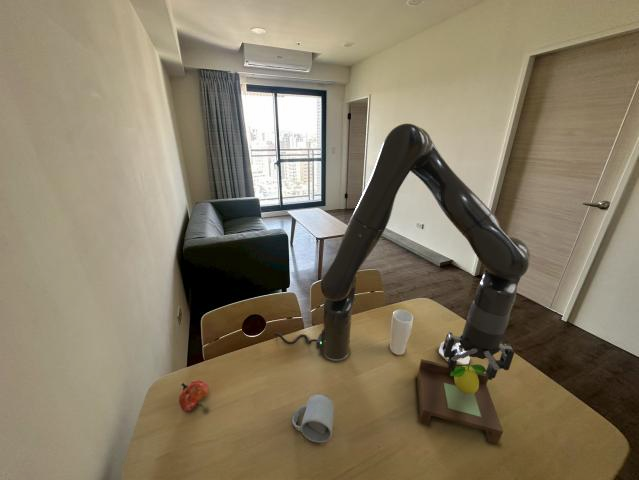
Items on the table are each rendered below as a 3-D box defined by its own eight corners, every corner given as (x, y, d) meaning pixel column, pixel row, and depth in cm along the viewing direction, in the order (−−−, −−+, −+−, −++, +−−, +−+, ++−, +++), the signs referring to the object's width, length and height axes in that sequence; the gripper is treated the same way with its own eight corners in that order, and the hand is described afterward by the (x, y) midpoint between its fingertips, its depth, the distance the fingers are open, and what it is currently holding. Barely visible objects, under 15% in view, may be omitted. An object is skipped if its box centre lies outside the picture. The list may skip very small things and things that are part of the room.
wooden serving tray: (420, 422, 67) (425, 402, 64) (416, 377, 79) (421, 358, 76) (497, 444, 62) (507, 423, 59) (480, 393, 75) (488, 373, 72)
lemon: (482, 390, 66) (488, 361, 62) (476, 406, 62) (482, 376, 59) (455, 376, 70) (458, 348, 67) (447, 391, 67) (451, 362, 63)
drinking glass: (404, 343, 92) (411, 310, 87) (409, 358, 86) (416, 323, 80) (386, 341, 93) (391, 308, 87) (389, 356, 87) (394, 321, 81)
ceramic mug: (334, 412, 69) (335, 392, 66) (331, 445, 61) (331, 425, 58) (296, 406, 70) (295, 386, 67) (289, 438, 63) (287, 418, 60)
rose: (449, 331, 92) (477, 347, 85) (446, 340, 94) (474, 357, 87) (435, 344, 86) (464, 362, 79) (433, 354, 88) (461, 372, 81)
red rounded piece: (215, 401, 73) (195, 373, 75) (219, 398, 68) (198, 369, 70) (191, 424, 68) (170, 394, 70) (193, 423, 63) (171, 390, 65)
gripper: (515, 317, 59) (496, 367, 66) (449, 306, 63) (437, 355, 69) (530, 340, 53) (507, 393, 59) (455, 326, 56) (441, 378, 62)
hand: (469, 372), depth 64 cm, fingers closed on lemon, 8 cm apart
